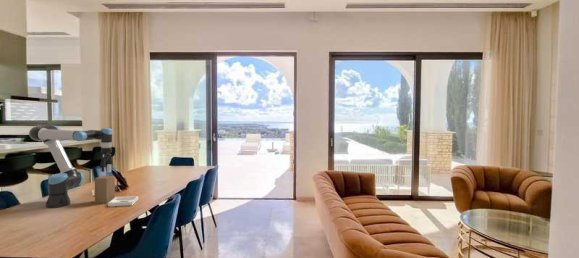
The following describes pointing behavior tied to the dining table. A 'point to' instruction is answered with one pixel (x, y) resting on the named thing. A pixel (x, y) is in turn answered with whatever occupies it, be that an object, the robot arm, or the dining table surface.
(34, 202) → the dining table surface
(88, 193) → the dining table surface
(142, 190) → the dining table surface
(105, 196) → the wooden block
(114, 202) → the dish
